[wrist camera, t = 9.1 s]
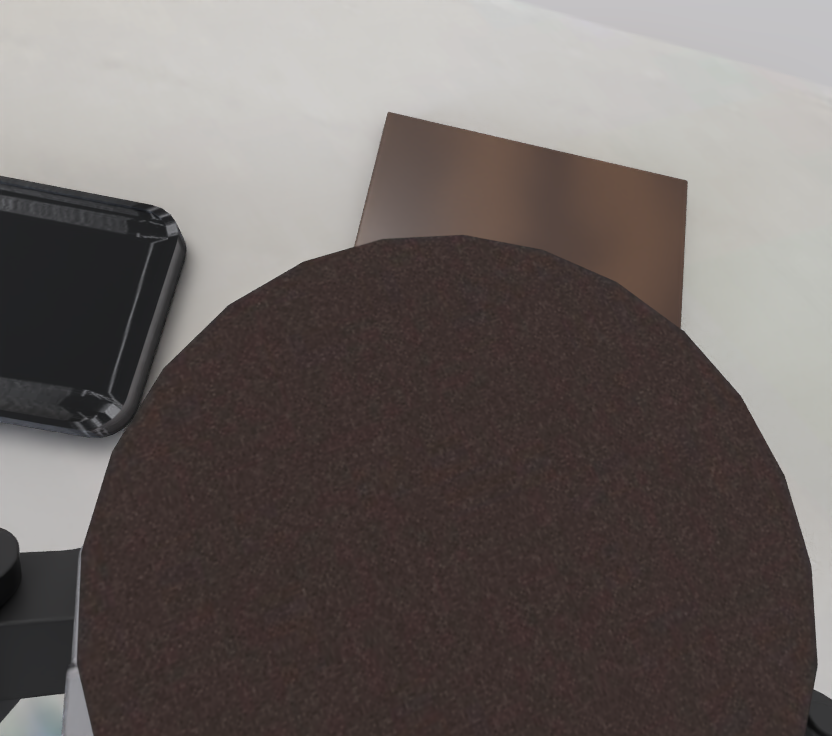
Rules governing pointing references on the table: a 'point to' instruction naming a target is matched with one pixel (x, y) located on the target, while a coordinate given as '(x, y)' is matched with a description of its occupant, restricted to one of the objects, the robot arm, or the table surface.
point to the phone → (80, 305)
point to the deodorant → (444, 518)
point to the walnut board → (531, 204)
